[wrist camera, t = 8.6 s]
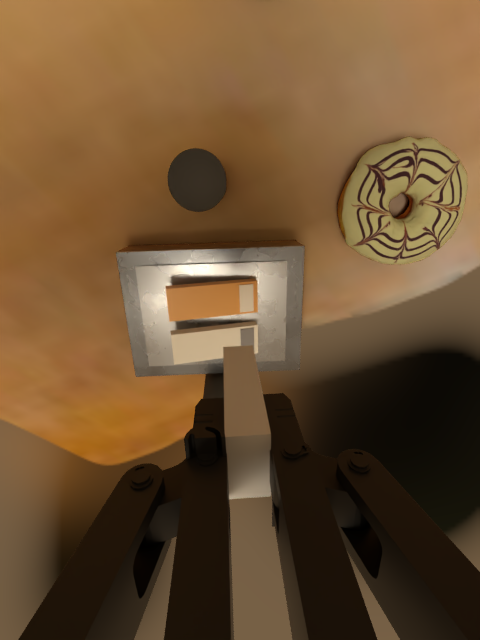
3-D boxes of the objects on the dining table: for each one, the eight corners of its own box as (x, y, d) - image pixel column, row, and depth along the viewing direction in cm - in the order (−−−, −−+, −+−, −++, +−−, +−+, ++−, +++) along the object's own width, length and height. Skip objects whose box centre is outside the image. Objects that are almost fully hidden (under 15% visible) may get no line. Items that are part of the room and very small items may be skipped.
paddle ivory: (173, 359, 30) (174, 365, 29) (170, 330, 29) (170, 335, 28) (255, 348, 31) (258, 354, 30) (254, 321, 30) (258, 325, 29)
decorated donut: (340, 141, 30) (356, 133, 26) (458, 143, 30) (489, 136, 26) (328, 258, 33) (340, 266, 30) (433, 259, 34) (458, 266, 30)
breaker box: (145, 357, 36) (133, 381, 32) (129, 245, 32) (112, 254, 27) (293, 351, 36) (302, 373, 32) (297, 239, 32) (308, 247, 28)
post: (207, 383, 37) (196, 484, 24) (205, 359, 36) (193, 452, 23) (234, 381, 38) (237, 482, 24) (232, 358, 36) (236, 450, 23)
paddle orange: (168, 317, 28) (169, 322, 27) (165, 286, 27) (165, 289, 26) (254, 308, 30) (258, 312, 29) (254, 278, 29) (257, 281, 28)
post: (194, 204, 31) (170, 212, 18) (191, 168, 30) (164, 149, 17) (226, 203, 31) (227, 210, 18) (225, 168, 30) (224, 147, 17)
